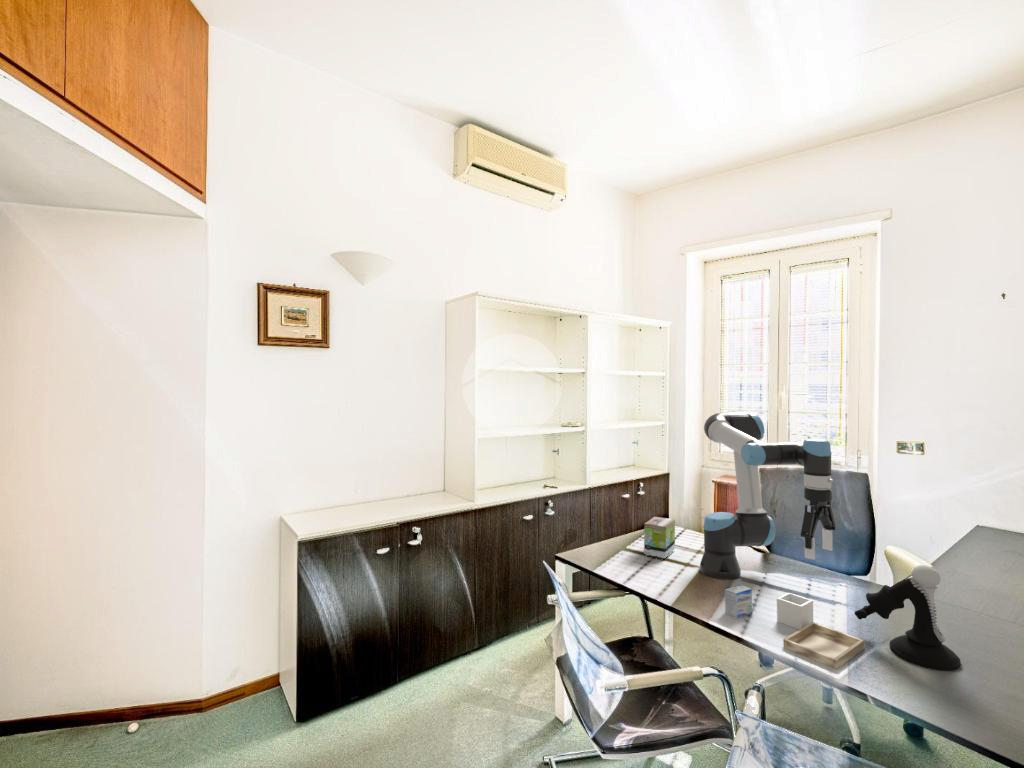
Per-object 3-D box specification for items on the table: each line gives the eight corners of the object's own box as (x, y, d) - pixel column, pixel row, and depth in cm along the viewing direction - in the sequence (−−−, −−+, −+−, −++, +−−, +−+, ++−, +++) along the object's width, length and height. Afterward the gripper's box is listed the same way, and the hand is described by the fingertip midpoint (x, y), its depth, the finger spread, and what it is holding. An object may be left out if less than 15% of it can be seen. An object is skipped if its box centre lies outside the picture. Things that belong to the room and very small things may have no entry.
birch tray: (783, 649, 140) (783, 639, 140) (812, 631, 150) (812, 621, 150) (836, 672, 129) (836, 660, 129) (864, 650, 139) (864, 640, 139)
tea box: (666, 560, 212) (665, 526, 213) (643, 556, 218) (643, 523, 218) (675, 550, 225) (675, 518, 225) (653, 547, 230) (653, 515, 231)
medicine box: (736, 620, 157) (736, 593, 157) (724, 615, 161) (724, 588, 161) (752, 615, 161) (752, 588, 161) (740, 609, 165) (740, 584, 165)
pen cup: (777, 623, 155) (776, 598, 155) (788, 617, 159) (788, 592, 159) (801, 633, 149) (801, 606, 149) (813, 626, 153) (812, 600, 153)
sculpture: (955, 678, 125) (954, 580, 126) (847, 642, 143) (846, 557, 143) (964, 656, 135) (962, 565, 136) (862, 625, 153) (860, 545, 153)
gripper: (814, 495, 147) (815, 565, 147) (846, 484, 162) (847, 548, 162) (787, 491, 153) (788, 559, 153) (820, 481, 168) (822, 543, 168)
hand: (818, 554), depth 157 cm, fingers open, 13 cm apart
